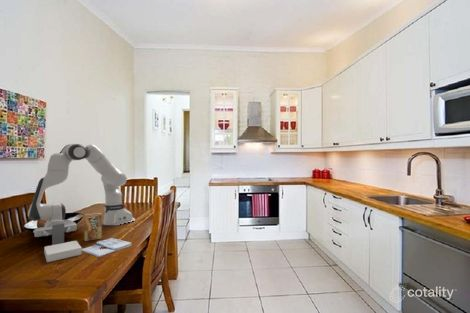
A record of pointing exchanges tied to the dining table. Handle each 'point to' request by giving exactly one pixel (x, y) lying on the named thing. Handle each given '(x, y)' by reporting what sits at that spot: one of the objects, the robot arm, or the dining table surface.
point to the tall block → (57, 233)
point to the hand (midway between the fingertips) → (57, 232)
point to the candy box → (93, 226)
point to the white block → (62, 251)
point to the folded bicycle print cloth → (108, 243)
